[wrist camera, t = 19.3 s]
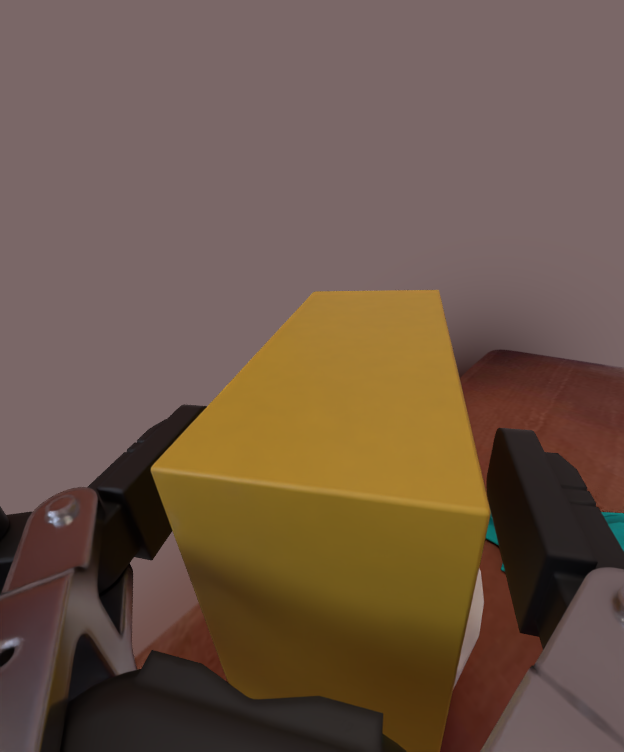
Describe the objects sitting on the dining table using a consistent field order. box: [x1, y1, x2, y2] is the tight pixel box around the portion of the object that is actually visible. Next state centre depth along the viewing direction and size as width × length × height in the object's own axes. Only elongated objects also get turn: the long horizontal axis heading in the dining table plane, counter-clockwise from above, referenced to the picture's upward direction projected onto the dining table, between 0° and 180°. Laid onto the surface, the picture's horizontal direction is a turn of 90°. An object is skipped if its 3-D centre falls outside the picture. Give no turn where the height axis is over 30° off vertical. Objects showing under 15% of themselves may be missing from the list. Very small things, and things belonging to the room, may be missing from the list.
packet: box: [151, 290, 491, 752], centre depth 13 cm, size 6×12×10 cm, turn 166°
